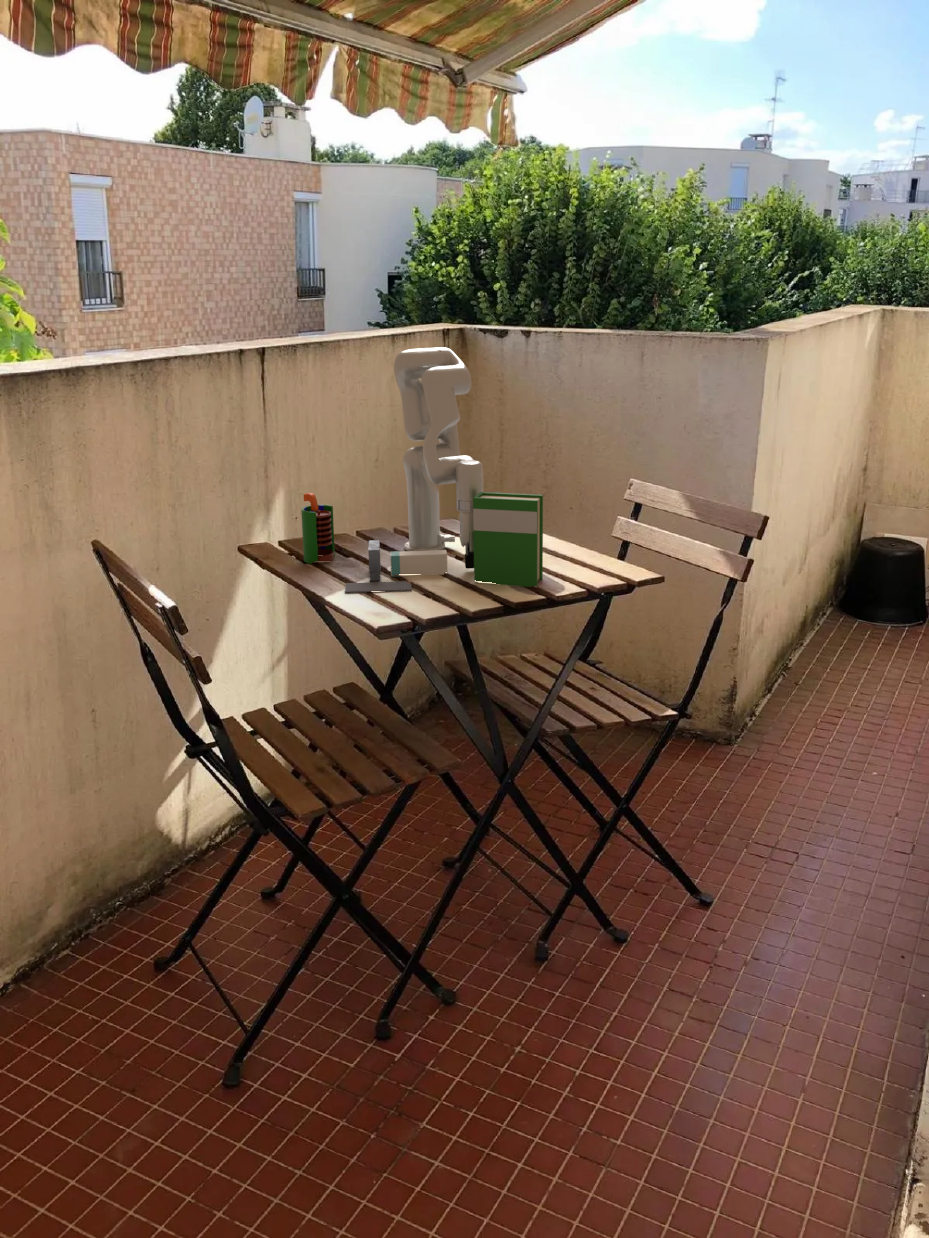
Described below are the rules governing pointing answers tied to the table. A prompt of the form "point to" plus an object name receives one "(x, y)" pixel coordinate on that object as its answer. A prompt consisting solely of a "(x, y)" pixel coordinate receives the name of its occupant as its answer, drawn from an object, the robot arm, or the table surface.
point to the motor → (317, 531)
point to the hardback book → (508, 538)
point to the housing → (374, 560)
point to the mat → (377, 587)
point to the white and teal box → (419, 562)
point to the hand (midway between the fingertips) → (470, 567)
